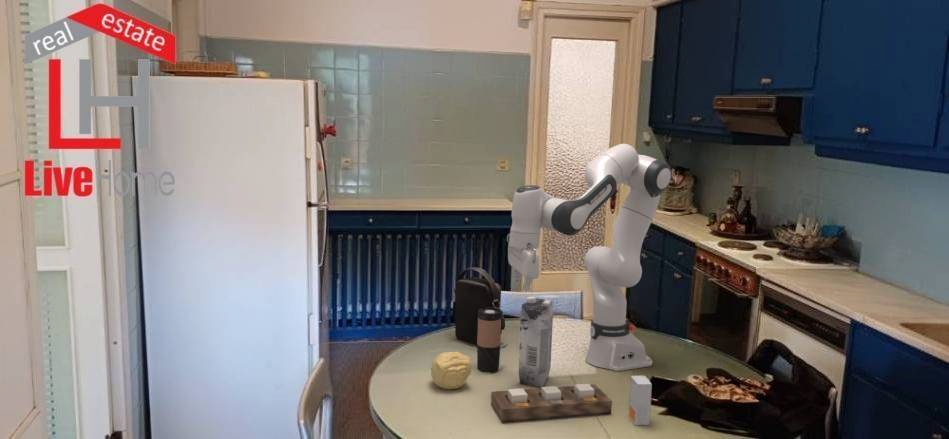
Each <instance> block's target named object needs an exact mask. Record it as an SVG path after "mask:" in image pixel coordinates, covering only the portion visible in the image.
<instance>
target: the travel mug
mask: <svg viewBox="0 0 949 439" xmlns="http://www.w3.org/2000/svg"><path fill="white" fill-rule="evenodd" d="M501 311H502V310H501V308H500V309H498V308H494V307H487V308H486V309H481V308H480V309H479V310H478V335H477V347H476V353H477V354H476V358H477V359H476V361H477V362H476V364H477V365H476V366H477V367H476V369H477V371H479V372H481V373H485V374H486V373H487V374H492V373H497V372H498V371H499V370H500V361H501V360H500V358H501V357H500V356H501V348H500V344H501V343H502V342H501V340H502V339H501V337H502V336H501V335H502V334H501Z"/></svg>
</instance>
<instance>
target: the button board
mask: <svg viewBox="0 0 949 439" xmlns="http://www.w3.org/2000/svg"><path fill="white" fill-rule="evenodd" d="M589 385H590V386H591V387H592V388H593V389H594V397H592V398H582V399H578V398H577V397H576V396H575V395H574V385H569V386H567V385H565V386H564V385H563V386H556V387H557V388H558V389H559V390H560V391H561V400H553V401H544V400H543V399H542V397H541V388H542V387H536V388H525V389H524V388H523V389H524V391H525V392H526V393H527V395H528V396H527V403H516V404H510V402H509V401H508V390H496V391H491V393H490V394H491V397H490V405H491V407H492V409H493V411H494V412H495V414H496V416H497V417H498V419H499V420H500V423H501V424H510V423H511V424H512V423H521V422H522V423H523V422H532V421H533V422H534V421H536V422H537V421H545V420H558V419H568V418H571V419H572V418H581V417H582V418H583V417H593V416H605V415H607V416H608V415H612V407H613V400H612V399H610V397H608V395H607V394H606V393H605V392H604V391H602V389H601V388H599V386H598V385H597V384H596V383H595V384H593V383H592V384H589Z"/></svg>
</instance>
